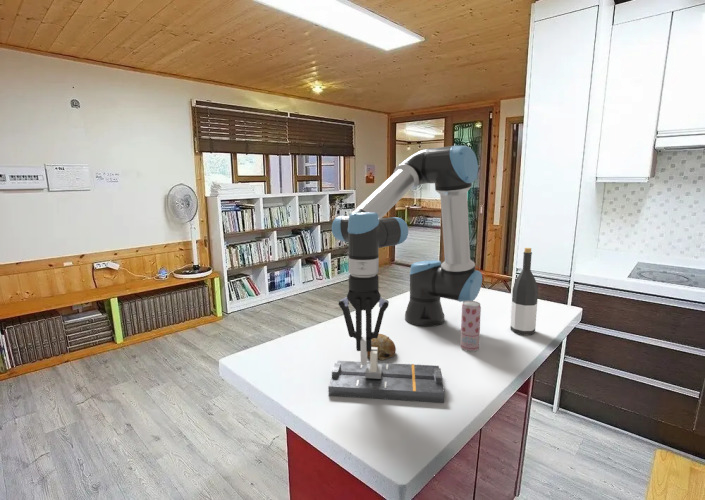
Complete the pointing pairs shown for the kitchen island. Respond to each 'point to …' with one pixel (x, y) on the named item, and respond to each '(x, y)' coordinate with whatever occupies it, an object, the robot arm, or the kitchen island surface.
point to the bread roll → (383, 347)
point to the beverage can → (470, 326)
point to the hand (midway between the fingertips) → (364, 362)
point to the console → (388, 382)
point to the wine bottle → (524, 299)
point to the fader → (373, 365)
